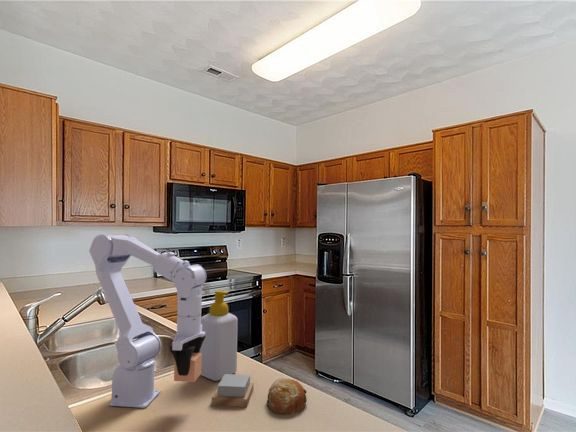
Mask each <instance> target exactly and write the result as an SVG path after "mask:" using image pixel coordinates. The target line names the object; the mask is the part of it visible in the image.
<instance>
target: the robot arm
mask: <svg viewBox="0 0 576 432" xmlns="http://www.w3.org/2000/svg"><path fill="white" fill-rule="evenodd" d="M88 252H89V254H90V256H91V258H92V261H93V264H94V266H95V273H96V276H97V279H98V282H99V284H100V286H101V289H102V291H103V293H104V295H105V299H106V301H107V303H108V306H109V309H110V310H111V313H112V315H113V318H114V320H115V323H116V326H117V327H118V330H119V332H120V334H119V336H118V338H117V340H116V341H115V344H114V346H115V348H116V351H117V356H116V357H117V360H118V363H119V364H118V365H117V366H116V368H115V369H114V371H113V375H112V378H111V379H112V380H111V381H112V382H111V401H110V403H109V407H123V408H124V407H125V408H142V409H143V408H144V409H145V408H147V407H148V406H149V404H151V403H152V402H153V400H155V399H156V397H158V396H159V395H160V394H161V391H160V390H156V389H155V363H156V362H155V361H157V356H158V355H159V354H160V353H161V350H162V341H161V339H160V337H159V335H157V334H156V333H155V332H154V330H153V328H152V327H151V326H149V325H147V324H145V323H144V322H143V321H142V318H141V317H140V314H139V312H138V310H137V307H136V305H135V302H134V301H133V298H132V296H131V294H130V291H129V289H128V287H127V284H126V282H125V280H124V277H123V275H122V272H121V270H122V268H123V267H124V266H125V265H126V264H127V262H128V261H129V259H130V258H131V257H134V258H135V259H139V260H141V261H143V262H145V263H147V264H149V265H152V269H153V272H155V273H156V274H158V275H160V276H162V277H163V278H166V279H167V280H169V281H171V282H173V284H174V287H175V288H176V295H177V312H176V313H177V315H176V316H177V317H176V319H177V320H176V332H175V337H174V340H173V341H172V344H171V345H170V346H169V352H170V353H171V354H172V356H173V359H174V363H175V362H176V366H177V370H178V374H179V375H182V376H187V375H188V372H189V368H190V361H191V357H192V353H199V352H200V349H201V346H202V343H203V341H204V339H205V332H203V331H202V326H203V324H201V317H202V302H203V300H202V299H203V298H202V297H203V296H202V295H203V285H204V284H205V283H206V282H207V278H208V277H207V271H206V270H205V268H204V267H203V266H201V265H200V264H197V263H196V264H190V261H188V260H183V259H181V258H179V257H177V256H176V253H175V252H172V251H168V252H162V253H160V252H158V251H156V250H154V249H153V248H151V247H150V246H148V245H146V244H145V243H143V242H141V241H140V240H138V238H136V237H134V236H132V235H129V234H98V235H96V236H95V237H94V238H93V240H92V242H91V244H90V248H89V250H88Z"/></svg>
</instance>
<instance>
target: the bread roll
mask: <svg viewBox="0 0 576 432" xmlns="http://www.w3.org/2000/svg"><path fill="white" fill-rule="evenodd" d="M306 394H307V390H306V389H305V388H304V386H303V385H302V384H301V383H300V382H299V381H298V380H295V379H292V378H291V379H290V378H283V377H282V378H278V379H276V380H275V381H273V383H271V386H269V388H268V393H267V401H266V405H267V406H268V407H269V409H271V410H272V411H273V412H275V413H276V414H280V415H292V414H294V413H297V412H299V411H302V410H303V408H304V407H306V404H307V395H306Z"/></svg>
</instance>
